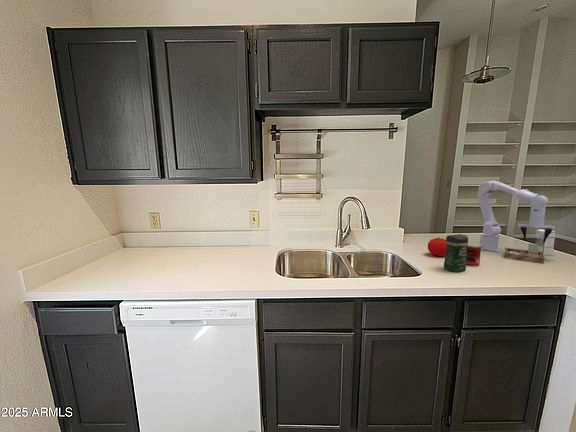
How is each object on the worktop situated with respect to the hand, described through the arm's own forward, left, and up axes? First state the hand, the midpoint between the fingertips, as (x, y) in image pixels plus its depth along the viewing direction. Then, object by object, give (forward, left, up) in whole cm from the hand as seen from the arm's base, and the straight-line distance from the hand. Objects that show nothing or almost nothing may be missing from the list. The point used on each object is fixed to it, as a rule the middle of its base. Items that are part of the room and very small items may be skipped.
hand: (534, 241), depth 139 cm
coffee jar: (-30, -46, -10) cm, 56 cm away
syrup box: (+5, +13, -10) cm, 17 cm away
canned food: (-25, -31, -10) cm, 41 cm away
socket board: (-4, -2, -10) cm, 11 cm away
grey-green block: (0, 0, -10) cm, 10 cm away
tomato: (-42, -25, -10) cm, 50 cm away
